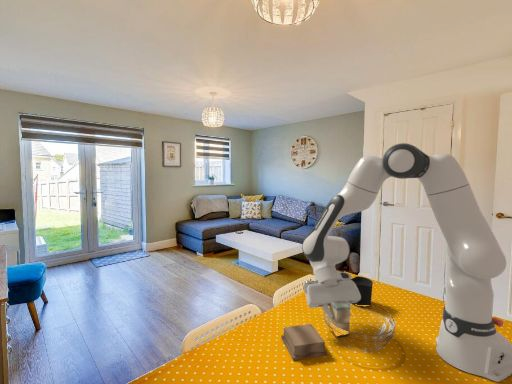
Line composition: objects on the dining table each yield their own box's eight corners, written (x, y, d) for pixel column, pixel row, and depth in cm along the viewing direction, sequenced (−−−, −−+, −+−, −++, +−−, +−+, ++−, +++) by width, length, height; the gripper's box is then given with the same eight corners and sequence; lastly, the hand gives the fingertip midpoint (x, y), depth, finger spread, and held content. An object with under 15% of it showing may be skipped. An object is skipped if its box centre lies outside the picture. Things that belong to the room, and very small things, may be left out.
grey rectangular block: (341, 326, 96) (342, 299, 95) (349, 334, 91) (350, 306, 90) (328, 328, 95) (329, 301, 94) (336, 336, 90) (336, 308, 89)
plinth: (311, 333, 93) (311, 322, 92) (327, 355, 82) (327, 342, 81) (281, 337, 90) (281, 326, 90) (293, 360, 79) (293, 347, 79)
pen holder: (346, 297, 120) (347, 275, 120) (367, 298, 120) (368, 276, 119) (351, 307, 111) (352, 284, 110) (374, 308, 110) (375, 285, 110)
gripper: (304, 278, 96) (315, 318, 87) (354, 273, 101) (369, 311, 92) (299, 285, 101) (309, 323, 92) (347, 280, 105) (361, 317, 97)
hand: (340, 317), depth 92 cm, fingers closed on grey rectangular block, 5 cm apart
